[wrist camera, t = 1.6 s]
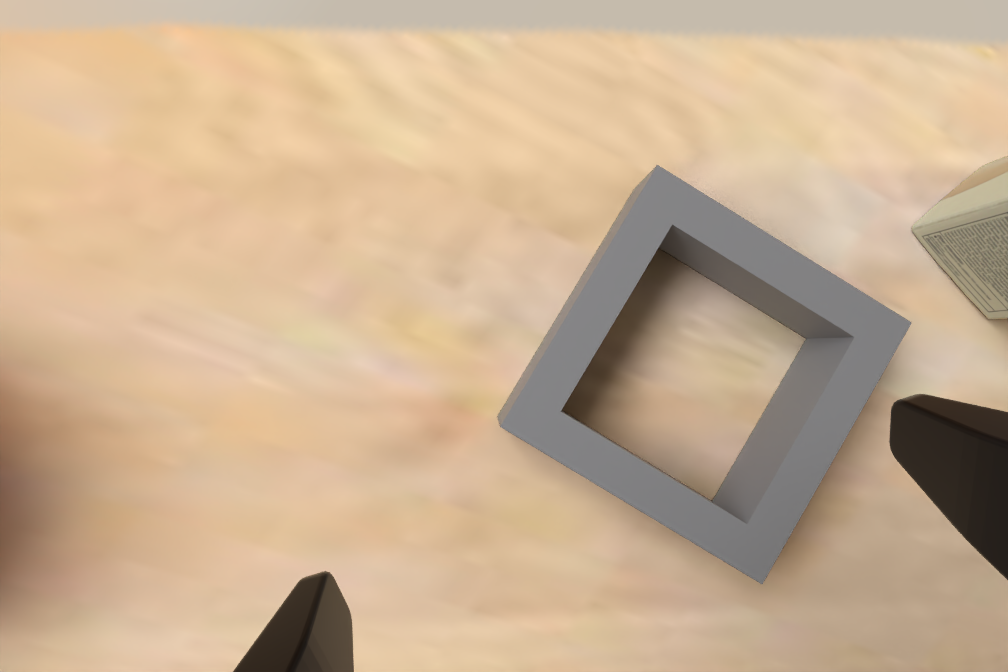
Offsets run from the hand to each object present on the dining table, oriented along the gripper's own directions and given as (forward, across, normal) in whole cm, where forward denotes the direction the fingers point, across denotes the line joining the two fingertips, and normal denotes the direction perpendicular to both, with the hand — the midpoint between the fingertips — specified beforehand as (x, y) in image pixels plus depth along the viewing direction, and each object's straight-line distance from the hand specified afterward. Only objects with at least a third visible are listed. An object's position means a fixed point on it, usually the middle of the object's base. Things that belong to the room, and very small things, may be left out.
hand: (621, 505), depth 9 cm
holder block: (+12, -6, +6) cm, 15 cm away
